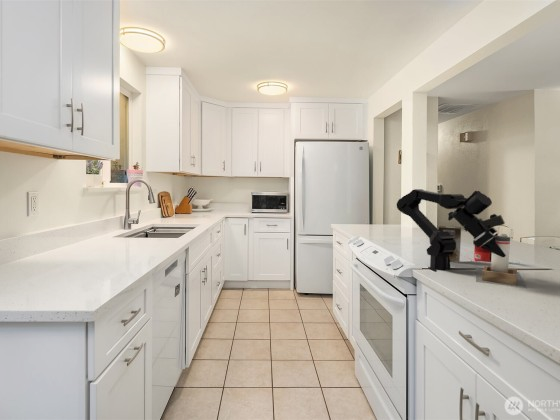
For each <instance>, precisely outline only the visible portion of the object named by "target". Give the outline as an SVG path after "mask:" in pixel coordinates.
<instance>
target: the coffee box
mask: <svg viewBox="0 0 560 420" xmlns="http://www.w3.org/2000/svg"><path fill="white" fill-rule="evenodd" d="M437 229H438V230H439V231H440V232H444V231H447V232H449V233H450V235H451V236H452V237H454V240H455V241H456V249H455V250H454V253H453V255H449V256H450V258H449V259H450V263H456V264H460V261H461V242H462V241H461V240H462V227H461V226H460V227H459V226H448V225H445V226H444V225H439V226H438V228H437Z"/></svg>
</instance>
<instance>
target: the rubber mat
mask: <svg viewBox="0 0 560 420" xmlns="http://www.w3.org/2000/svg"><path fill="white" fill-rule="evenodd" d="M483 269H484V267H478V266H477V267H475V282H476V283H484V284H491V285H496V286H506V287H514V288H520V289H521V288H522V289H528V287H527V285H526V283H525V281H524V279H523V278H522V276H521V273H520V272H519V271H517V281H516V286H515V285H508V284H502V283H495V282H488V281H482V270H483Z"/></svg>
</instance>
